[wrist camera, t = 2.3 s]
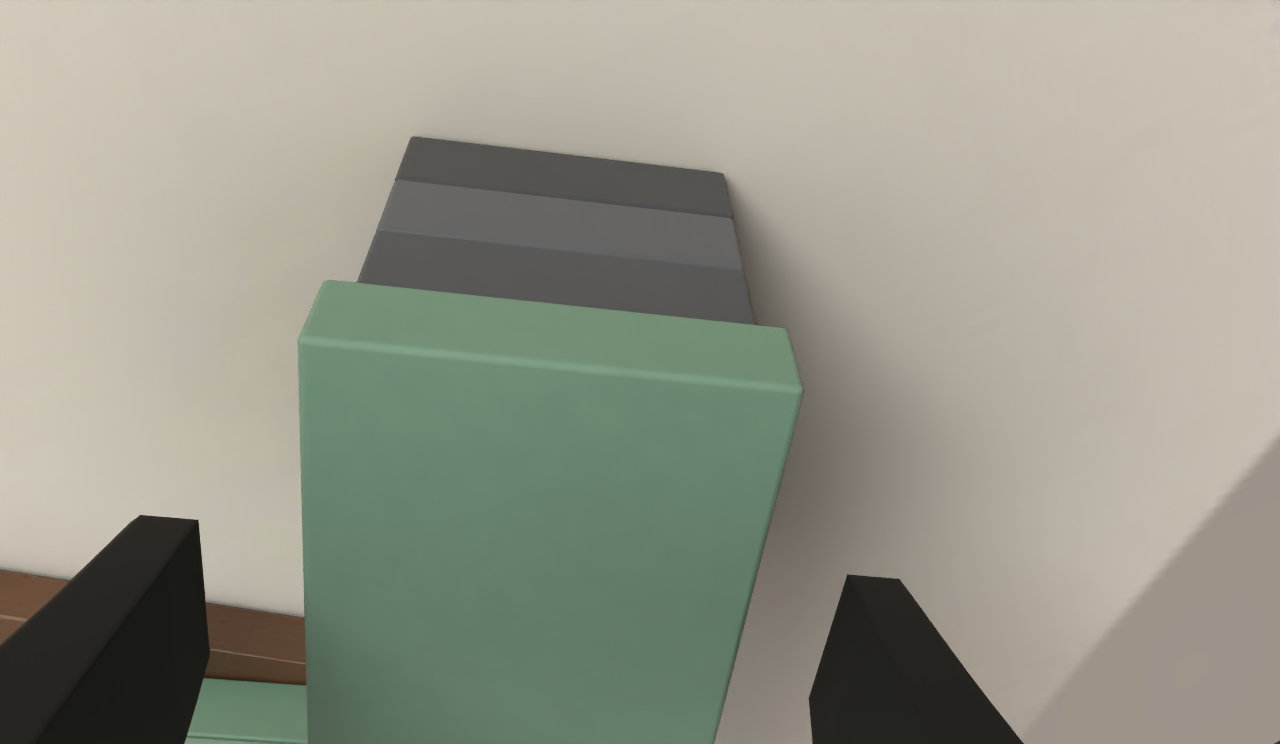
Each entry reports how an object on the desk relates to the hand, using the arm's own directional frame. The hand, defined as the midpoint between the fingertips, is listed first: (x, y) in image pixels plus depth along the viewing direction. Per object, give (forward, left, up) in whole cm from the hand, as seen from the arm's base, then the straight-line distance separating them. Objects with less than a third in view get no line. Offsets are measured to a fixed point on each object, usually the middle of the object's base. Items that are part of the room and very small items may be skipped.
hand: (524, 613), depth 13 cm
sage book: (0, 0, -1) cm, 1 cm away
